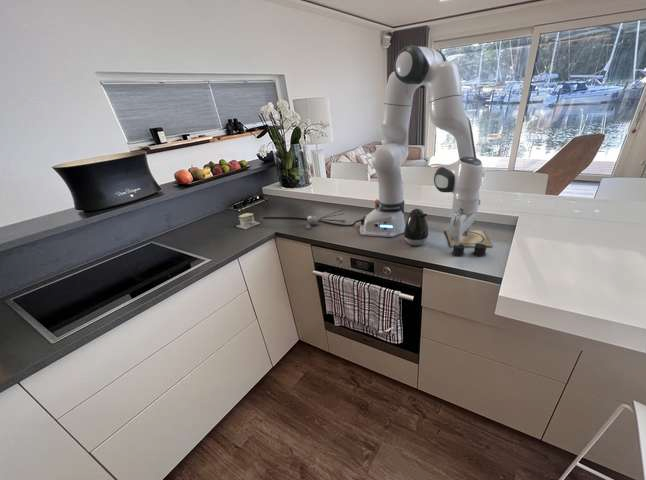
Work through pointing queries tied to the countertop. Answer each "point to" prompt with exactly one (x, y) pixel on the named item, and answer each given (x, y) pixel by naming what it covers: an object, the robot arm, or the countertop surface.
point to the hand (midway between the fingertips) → (461, 240)
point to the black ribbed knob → (458, 250)
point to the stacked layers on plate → (247, 221)
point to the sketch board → (471, 239)
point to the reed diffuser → (313, 220)
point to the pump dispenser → (416, 227)
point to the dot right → (480, 249)
